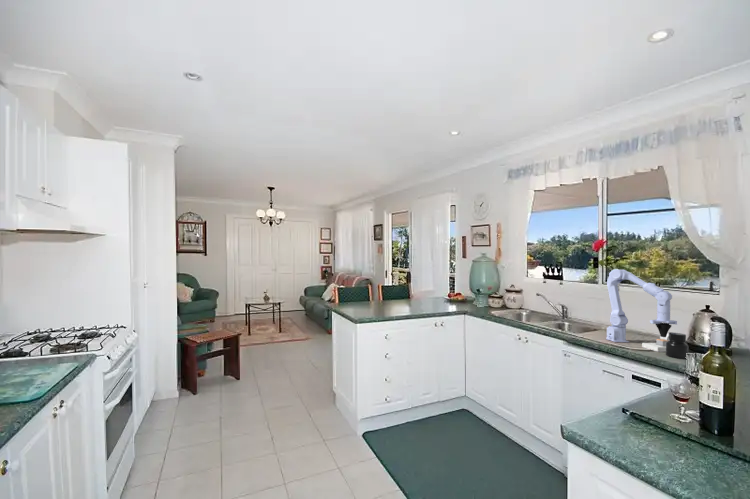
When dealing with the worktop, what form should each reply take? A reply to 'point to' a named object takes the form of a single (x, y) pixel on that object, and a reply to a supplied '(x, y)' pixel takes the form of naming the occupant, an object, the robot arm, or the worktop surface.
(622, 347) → the worktop surface
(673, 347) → the ink bottle
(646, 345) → the socket plate
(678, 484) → the worktop surface
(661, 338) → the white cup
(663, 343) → the plug
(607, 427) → the worktop surface
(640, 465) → the worktop surface
